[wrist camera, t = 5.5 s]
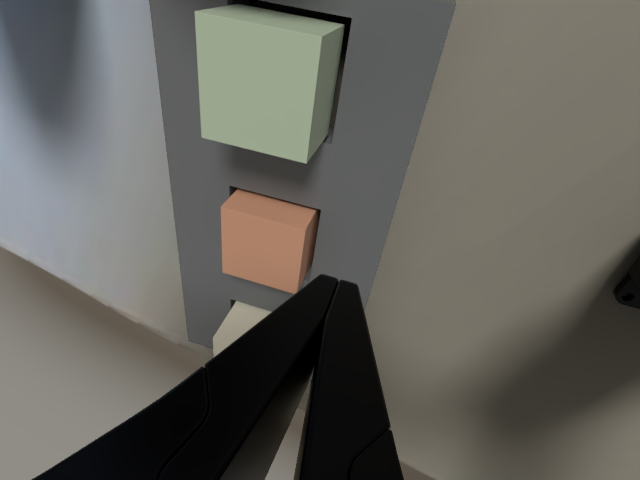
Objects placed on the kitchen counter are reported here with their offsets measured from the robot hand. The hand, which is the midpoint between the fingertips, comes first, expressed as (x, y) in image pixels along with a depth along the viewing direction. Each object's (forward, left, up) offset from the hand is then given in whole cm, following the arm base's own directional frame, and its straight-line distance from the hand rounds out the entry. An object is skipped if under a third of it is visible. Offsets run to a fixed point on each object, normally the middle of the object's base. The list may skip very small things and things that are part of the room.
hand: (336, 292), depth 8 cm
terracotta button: (+5, +7, -12) cm, 15 cm away
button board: (+5, +7, -12) cm, 15 cm away
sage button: (+5, -1, -10) cm, 12 cm away
